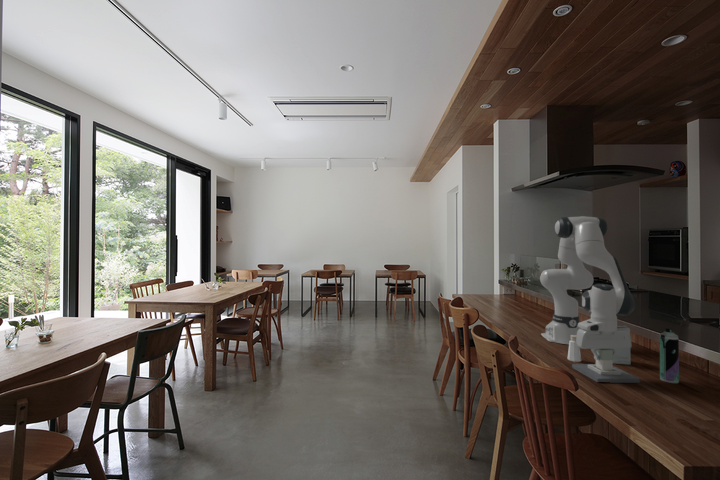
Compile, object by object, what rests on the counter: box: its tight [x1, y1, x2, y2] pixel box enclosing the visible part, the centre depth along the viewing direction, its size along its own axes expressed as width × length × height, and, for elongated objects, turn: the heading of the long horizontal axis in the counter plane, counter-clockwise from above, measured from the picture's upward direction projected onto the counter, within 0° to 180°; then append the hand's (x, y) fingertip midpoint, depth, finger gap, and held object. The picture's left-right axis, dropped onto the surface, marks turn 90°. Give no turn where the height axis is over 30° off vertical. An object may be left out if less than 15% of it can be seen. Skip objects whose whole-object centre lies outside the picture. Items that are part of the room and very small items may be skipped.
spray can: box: [659, 327, 680, 384], centre depth 136 cm, size 6×6×20 cm
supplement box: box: [613, 348, 632, 366], centre depth 158 cm, size 7×7×13 cm
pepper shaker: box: [567, 335, 582, 363], centre depth 160 cm, size 5×5×11 cm
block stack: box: [595, 349, 614, 370], centre depth 142 cm, size 4×4×8 cm
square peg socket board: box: [571, 363, 641, 384], centre depth 142 cm, size 16×16×3 cm
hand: (603, 359), depth 142 cm, fingers closed on block stack, 4 cm apart
